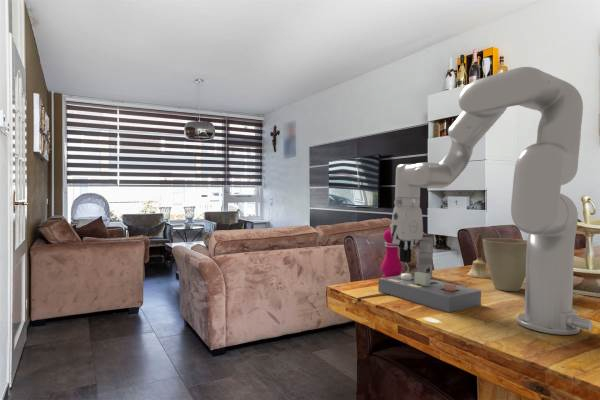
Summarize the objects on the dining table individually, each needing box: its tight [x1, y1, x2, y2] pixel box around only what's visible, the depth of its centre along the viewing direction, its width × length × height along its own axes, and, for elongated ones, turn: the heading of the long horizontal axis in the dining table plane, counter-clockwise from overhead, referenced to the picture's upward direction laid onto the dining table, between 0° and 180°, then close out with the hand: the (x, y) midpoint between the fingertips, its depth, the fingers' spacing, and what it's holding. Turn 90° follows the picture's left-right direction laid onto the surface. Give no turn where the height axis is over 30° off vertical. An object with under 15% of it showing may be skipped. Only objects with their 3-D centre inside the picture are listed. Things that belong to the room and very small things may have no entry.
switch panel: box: [377, 274, 482, 313], centre depth 119 cm, size 26×14×4 cm, turn 33°
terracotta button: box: [444, 282, 457, 292], centre depth 112 cm, size 3×3×2 cm
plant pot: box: [483, 237, 528, 292], centre depth 131 cm, size 15×15×16 cm
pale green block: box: [415, 272, 430, 286], centre depth 118 cm, size 4×2×6 cm, turn 33°
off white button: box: [400, 272, 412, 281], centre depth 126 cm, size 3×3×2 cm
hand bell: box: [466, 233, 491, 279], centre depth 152 cm, size 8×8×16 cm
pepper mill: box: [380, 224, 403, 278], centre depth 142 cm, size 7×7×20 cm
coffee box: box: [404, 232, 434, 279], centre depth 150 cm, size 9×6×16 cm
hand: (405, 261), depth 126 cm, fingers closed
